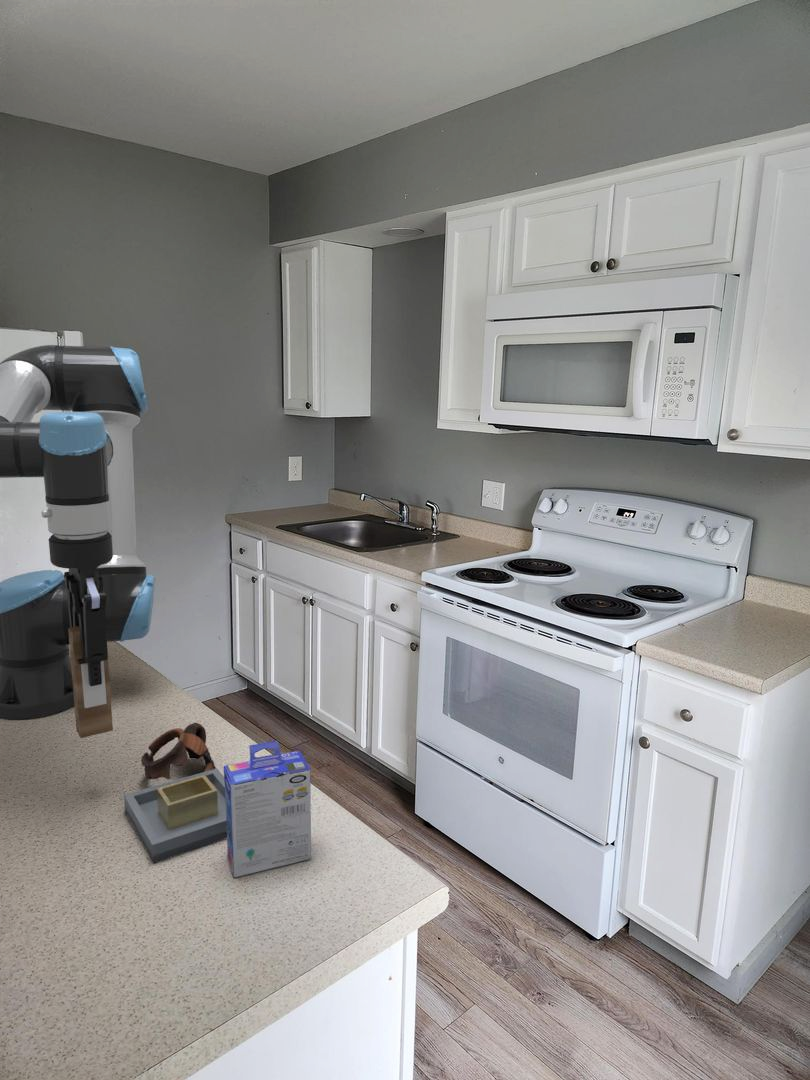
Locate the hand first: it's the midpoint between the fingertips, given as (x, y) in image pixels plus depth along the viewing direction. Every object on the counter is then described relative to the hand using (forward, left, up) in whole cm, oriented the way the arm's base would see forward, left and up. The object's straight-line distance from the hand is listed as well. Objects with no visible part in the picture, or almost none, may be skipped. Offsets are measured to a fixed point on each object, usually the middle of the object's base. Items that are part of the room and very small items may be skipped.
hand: (92, 699), depth 100 cm
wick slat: (0, 0, -5) cm, 5 cm away
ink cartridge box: (+26, +14, -15) cm, 33 cm away
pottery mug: (+1, +12, -15) cm, 19 cm away
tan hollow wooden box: (+13, +8, -13) cm, 20 cm away
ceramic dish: (+13, +8, -14) cm, 21 cm away
